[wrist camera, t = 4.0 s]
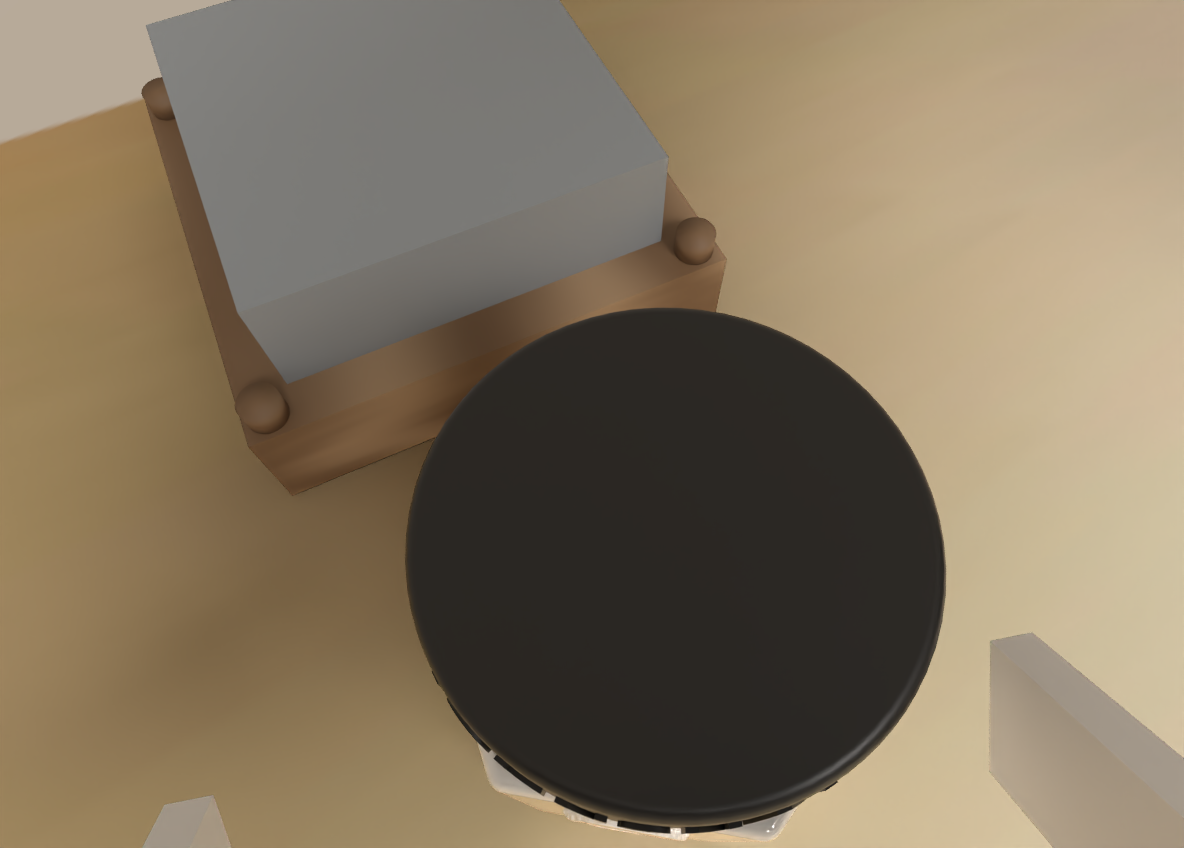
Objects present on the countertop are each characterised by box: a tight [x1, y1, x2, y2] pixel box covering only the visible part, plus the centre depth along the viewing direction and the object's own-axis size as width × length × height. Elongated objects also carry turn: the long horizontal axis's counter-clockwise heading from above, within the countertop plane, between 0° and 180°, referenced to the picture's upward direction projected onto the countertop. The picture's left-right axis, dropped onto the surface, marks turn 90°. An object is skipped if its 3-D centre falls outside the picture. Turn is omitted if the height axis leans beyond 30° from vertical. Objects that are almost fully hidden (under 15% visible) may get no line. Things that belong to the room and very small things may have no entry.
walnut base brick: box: [142, 77, 726, 496], centre depth 28 cm, size 15×15×4 cm
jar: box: [405, 308, 946, 842], centre depth 17 cm, size 9×8×12 cm
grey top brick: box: [146, 0, 668, 384], centre depth 25 cm, size 12×12×4 cm
